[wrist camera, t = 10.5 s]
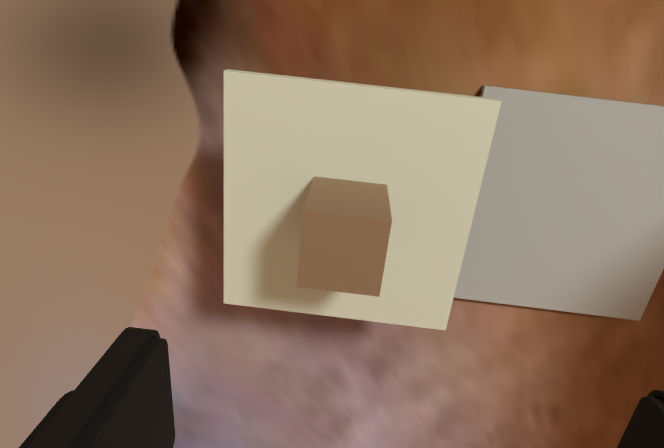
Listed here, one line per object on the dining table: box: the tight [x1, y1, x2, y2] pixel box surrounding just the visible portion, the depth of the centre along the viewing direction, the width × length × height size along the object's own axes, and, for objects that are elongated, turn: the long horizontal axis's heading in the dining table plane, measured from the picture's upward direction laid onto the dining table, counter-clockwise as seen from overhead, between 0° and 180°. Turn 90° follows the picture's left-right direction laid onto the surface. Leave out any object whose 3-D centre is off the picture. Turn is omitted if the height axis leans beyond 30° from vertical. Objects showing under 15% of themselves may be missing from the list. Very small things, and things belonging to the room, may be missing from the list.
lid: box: [224, 69, 502, 330], centre depth 23 cm, size 14×14×6 cm
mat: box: [454, 85, 664, 321], centre depth 32 cm, size 16×16×1 cm
